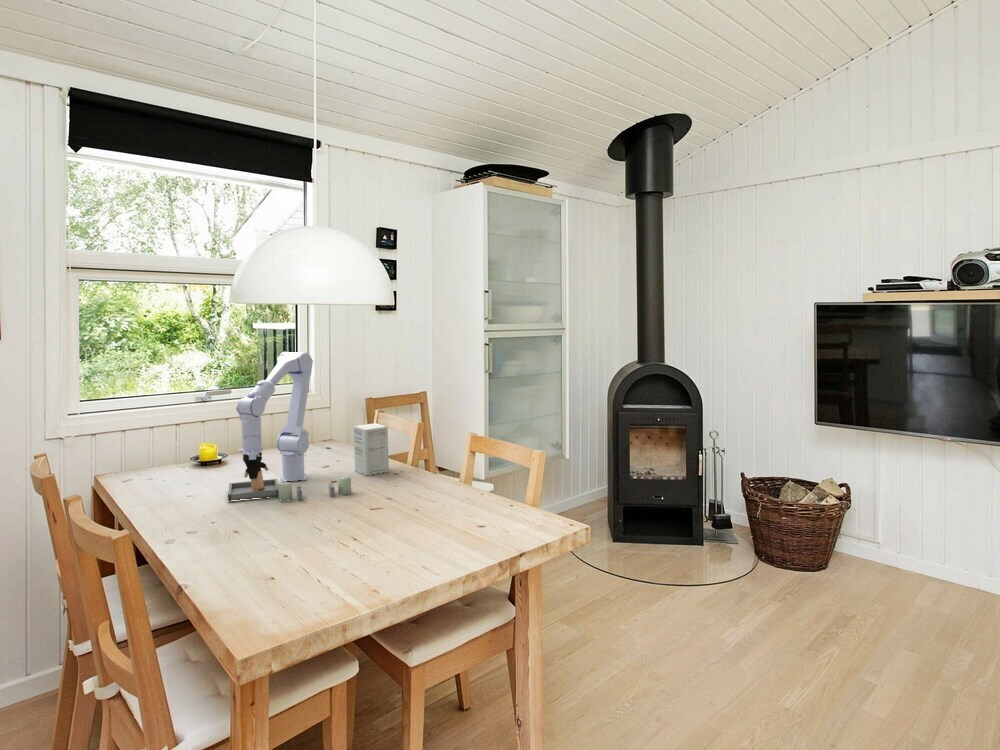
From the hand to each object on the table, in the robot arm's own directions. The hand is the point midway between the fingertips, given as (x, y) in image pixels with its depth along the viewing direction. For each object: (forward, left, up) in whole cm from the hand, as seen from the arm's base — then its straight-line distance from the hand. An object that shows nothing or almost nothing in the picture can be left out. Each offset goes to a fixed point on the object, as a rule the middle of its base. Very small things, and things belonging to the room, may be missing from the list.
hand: (253, 477), depth 196 cm
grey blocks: (+10, +18, -5) cm, 21 cm away
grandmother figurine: (0, +2, -4) cm, 5 cm away
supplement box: (-14, +40, -6) cm, 43 cm away
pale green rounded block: (+10, +9, -6) cm, 15 cm away
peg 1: (+10, +27, -6) cm, 29 cm away
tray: (0, 0, -5) cm, 5 cm away
